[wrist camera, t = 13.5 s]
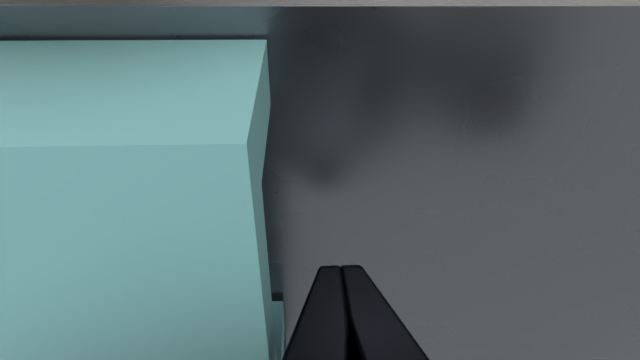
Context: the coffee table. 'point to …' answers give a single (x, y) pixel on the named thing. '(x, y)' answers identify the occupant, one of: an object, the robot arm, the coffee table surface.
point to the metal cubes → (436, 156)
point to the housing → (135, 201)
